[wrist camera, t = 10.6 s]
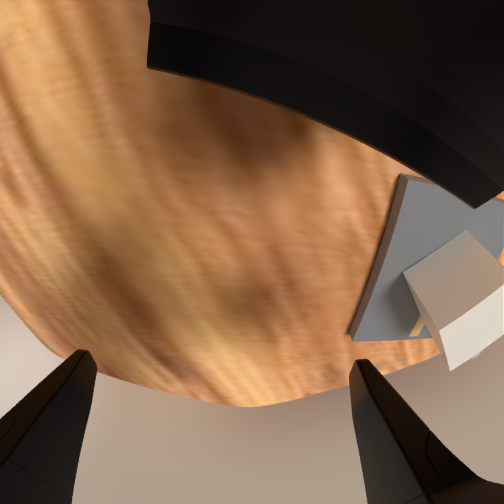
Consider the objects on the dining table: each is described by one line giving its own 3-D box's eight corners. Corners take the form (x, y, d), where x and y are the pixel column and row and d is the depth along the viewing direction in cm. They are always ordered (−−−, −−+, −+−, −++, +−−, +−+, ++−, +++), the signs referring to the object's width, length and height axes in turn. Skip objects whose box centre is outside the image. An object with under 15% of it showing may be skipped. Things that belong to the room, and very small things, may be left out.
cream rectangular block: (465, 229, 18) (513, 276, 13) (479, 304, 22) (509, 349, 17) (402, 272, 20) (439, 330, 15) (429, 338, 24) (453, 387, 19)
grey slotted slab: (400, 173, 17) (436, 202, 13) (510, 201, 18) (544, 228, 14) (349, 331, 25) (361, 374, 21) (451, 327, 25) (470, 361, 21)
